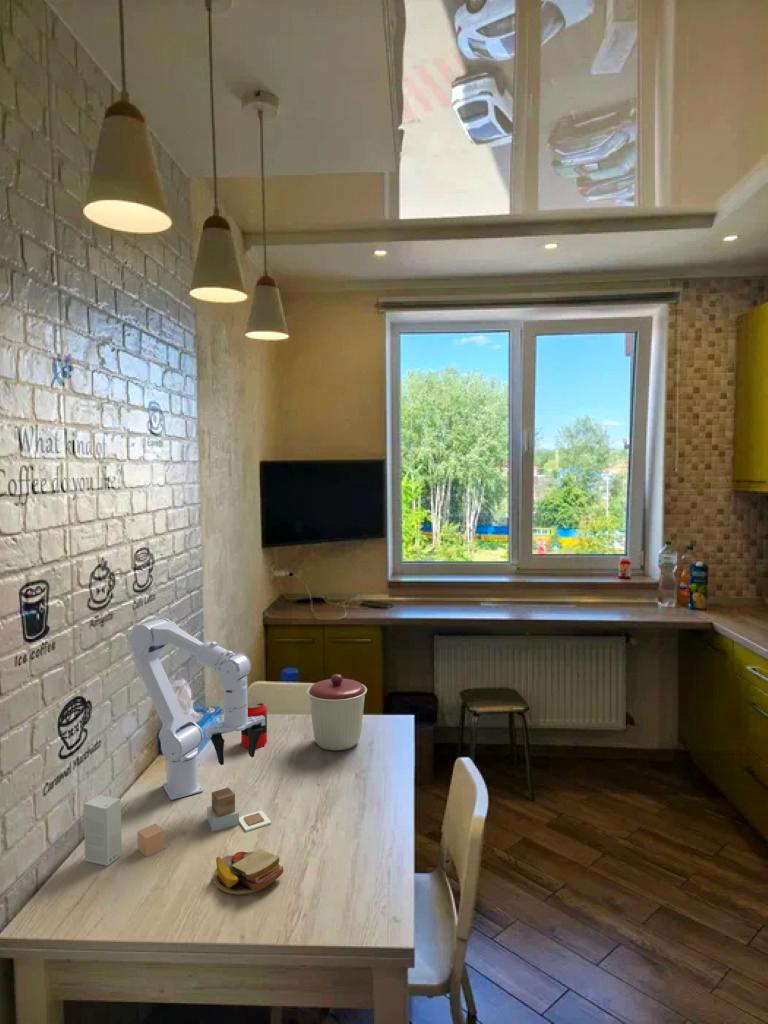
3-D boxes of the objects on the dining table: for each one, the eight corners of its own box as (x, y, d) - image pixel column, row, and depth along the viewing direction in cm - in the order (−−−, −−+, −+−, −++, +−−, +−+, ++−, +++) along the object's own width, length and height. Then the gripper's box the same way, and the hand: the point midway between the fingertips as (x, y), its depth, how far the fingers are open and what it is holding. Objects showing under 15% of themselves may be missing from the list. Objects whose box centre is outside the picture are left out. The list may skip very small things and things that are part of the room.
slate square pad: (207, 820, 137) (207, 807, 137) (233, 813, 139) (233, 801, 139) (212, 832, 131) (212, 819, 131) (239, 825, 134) (239, 812, 134)
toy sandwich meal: (260, 849, 125) (259, 827, 125) (293, 881, 114) (292, 858, 114) (203, 874, 117) (202, 850, 117) (232, 911, 106) (232, 885, 106)
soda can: (264, 749, 174) (263, 708, 174) (238, 749, 174) (238, 709, 174) (269, 738, 182) (268, 700, 181) (245, 738, 182) (244, 700, 181)
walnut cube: (211, 809, 136) (211, 792, 136) (228, 804, 138) (228, 787, 138) (217, 817, 132) (217, 799, 132) (235, 811, 135) (234, 794, 135)
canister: (315, 730, 188) (315, 664, 187) (371, 733, 185) (371, 666, 184) (300, 755, 170) (299, 682, 169) (361, 758, 167) (361, 685, 167)
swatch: (237, 819, 136) (237, 816, 136) (261, 811, 139) (261, 808, 139) (245, 831, 131) (245, 828, 131) (271, 823, 134) (271, 820, 134)
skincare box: (122, 855, 123) (121, 798, 123) (107, 867, 119) (105, 808, 119) (100, 849, 125) (98, 793, 125) (83, 861, 121) (82, 803, 121)
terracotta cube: (137, 849, 125) (137, 831, 125) (155, 841, 128) (155, 823, 128) (146, 857, 122) (146, 838, 122) (164, 848, 125) (164, 830, 125)
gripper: (210, 716, 137) (211, 773, 138) (269, 703, 145) (270, 758, 146) (202, 707, 143) (203, 762, 144) (259, 695, 151) (260, 748, 152)
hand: (236, 759), depth 145 cm, fingers open, 7 cm apart
